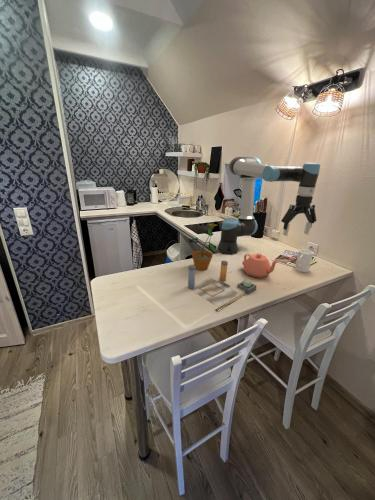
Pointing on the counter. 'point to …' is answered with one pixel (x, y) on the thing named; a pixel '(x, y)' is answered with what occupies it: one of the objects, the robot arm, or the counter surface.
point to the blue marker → (191, 277)
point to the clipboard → (216, 292)
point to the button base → (248, 290)
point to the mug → (303, 260)
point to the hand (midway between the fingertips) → (295, 234)
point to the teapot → (258, 265)
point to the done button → (247, 283)
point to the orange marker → (223, 270)
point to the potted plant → (203, 253)
